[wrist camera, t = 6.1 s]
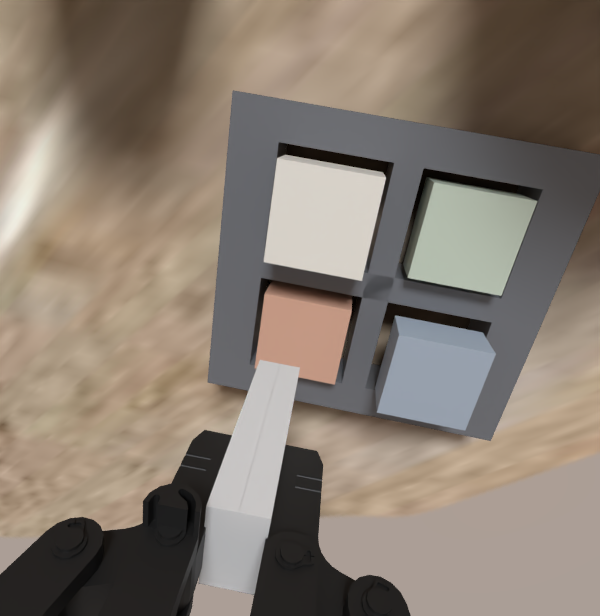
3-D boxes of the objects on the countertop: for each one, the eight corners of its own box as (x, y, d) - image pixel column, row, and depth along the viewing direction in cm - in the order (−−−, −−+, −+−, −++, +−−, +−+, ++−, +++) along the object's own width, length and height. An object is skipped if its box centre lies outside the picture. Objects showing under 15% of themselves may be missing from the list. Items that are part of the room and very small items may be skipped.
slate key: (374, 375, 22) (376, 412, 19) (393, 305, 21) (399, 334, 18) (450, 390, 22) (465, 430, 19) (476, 321, 20) (495, 354, 18)
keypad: (221, 358, 25) (207, 382, 23) (247, 94, 19) (232, 90, 17) (477, 410, 24) (490, 440, 22) (581, 153, 19) (614, 157, 16)
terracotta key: (266, 339, 24) (254, 368, 21) (276, 272, 22) (264, 293, 19) (337, 353, 24) (334, 384, 21) (352, 286, 22) (351, 310, 19)
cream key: (276, 242, 20) (263, 262, 17) (289, 153, 18) (277, 158, 16) (360, 258, 20) (361, 281, 17) (381, 169, 18) (386, 177, 15)
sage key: (400, 257, 21) (407, 277, 18) (422, 173, 20) (434, 182, 17) (481, 272, 21) (501, 295, 18) (510, 190, 19) (537, 201, 17)
